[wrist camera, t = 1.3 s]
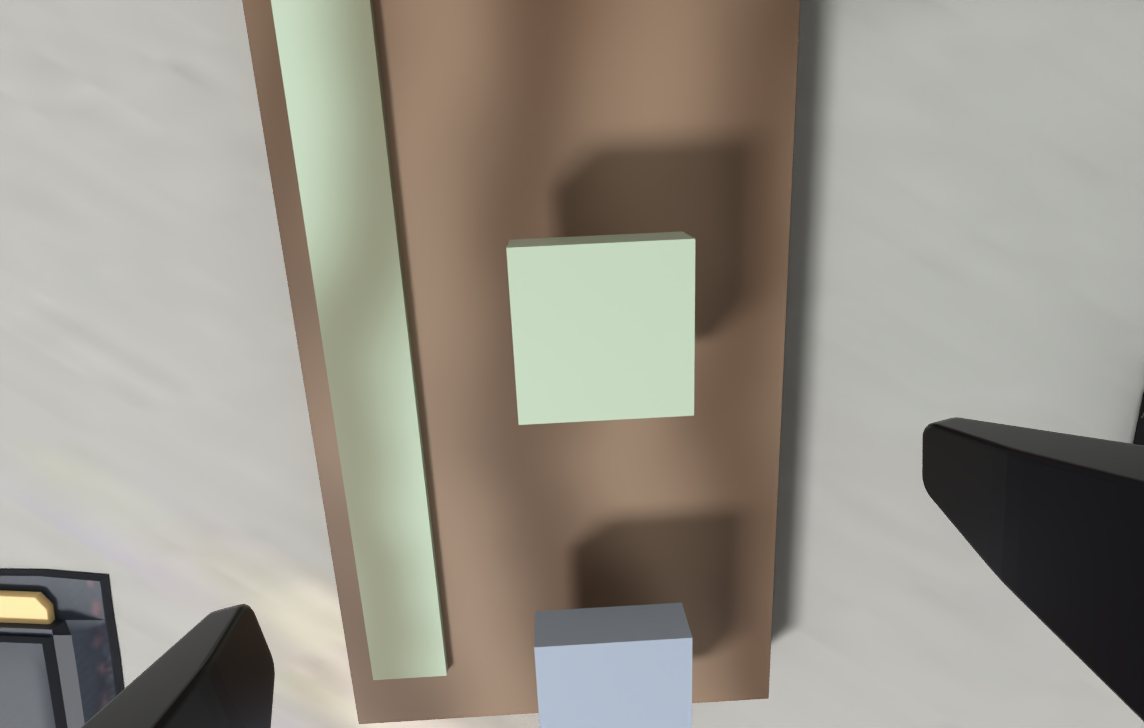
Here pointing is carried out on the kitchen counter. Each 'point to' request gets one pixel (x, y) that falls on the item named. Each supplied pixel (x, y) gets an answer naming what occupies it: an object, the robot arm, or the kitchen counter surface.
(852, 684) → the kitchen counter surface
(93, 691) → the wallet
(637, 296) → the sage green button
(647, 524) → the button panel
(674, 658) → the slate blue button
